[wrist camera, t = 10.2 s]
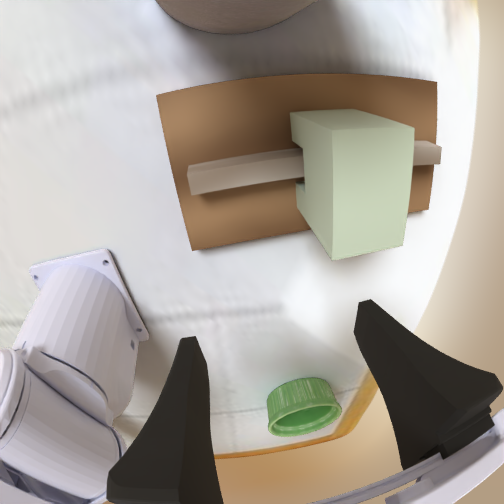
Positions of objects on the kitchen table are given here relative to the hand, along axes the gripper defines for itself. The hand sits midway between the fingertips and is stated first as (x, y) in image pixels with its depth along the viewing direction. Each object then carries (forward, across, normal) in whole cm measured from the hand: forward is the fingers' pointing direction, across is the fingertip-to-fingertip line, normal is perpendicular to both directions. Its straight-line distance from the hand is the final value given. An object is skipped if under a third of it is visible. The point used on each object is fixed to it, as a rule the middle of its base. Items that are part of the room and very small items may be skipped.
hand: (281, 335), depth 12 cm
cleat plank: (+9, -5, -5) cm, 12 cm away
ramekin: (+10, -3, +24) cm, 26 cm away
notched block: (+8, -5, -5) cm, 11 cm away
